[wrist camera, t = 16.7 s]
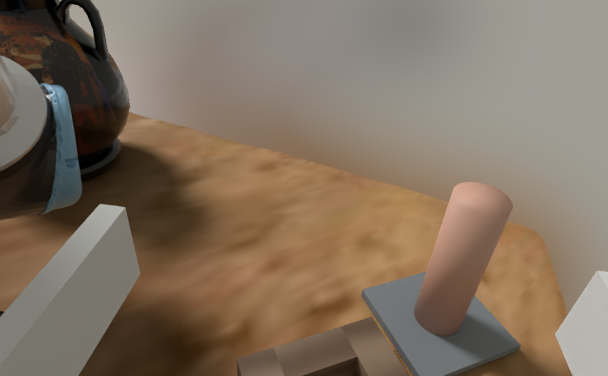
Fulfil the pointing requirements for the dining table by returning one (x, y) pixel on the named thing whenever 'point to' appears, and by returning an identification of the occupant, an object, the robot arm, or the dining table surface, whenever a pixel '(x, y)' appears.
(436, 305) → the terracotta peg
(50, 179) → the robot arm
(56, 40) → the amphora vase
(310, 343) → the walnut pocket block
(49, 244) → the dining table surface
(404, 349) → the slate mat
